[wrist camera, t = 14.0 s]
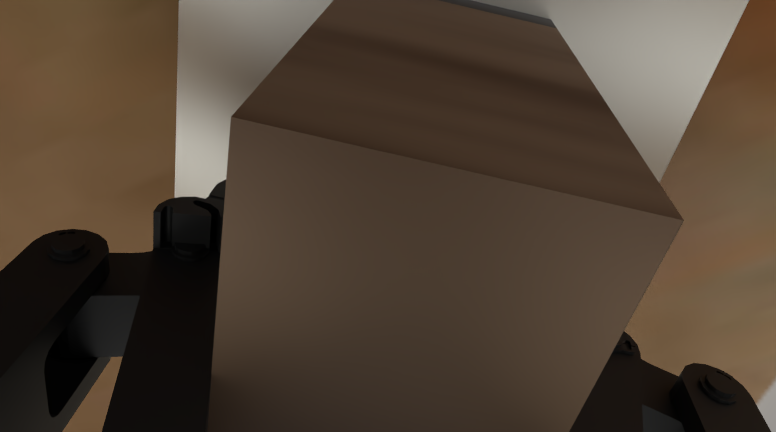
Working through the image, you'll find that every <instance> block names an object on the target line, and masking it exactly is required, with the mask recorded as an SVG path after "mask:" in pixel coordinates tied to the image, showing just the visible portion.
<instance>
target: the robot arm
mask: <svg viewBox="0 0 776 432" xmlns="http://www.w3.org/2000/svg"><path fill="white" fill-rule="evenodd" d="M225 188H226V180H224V181H222V182H220V183H218V184H217V185H216V186H215V187H214V189H213V190H212V191H211V193H210V194H209V197H207V198H206V199H205V198H200V197H177V198H173V199H168V200H166V201H164V202H163V203H161V204H159V205H158V206H157V208H156V209H155V210H154V234H153V251H150V252H144V253H109V248H108V245H107V241H106V240H105V239H104V238H102V237H101V236H100V235H99V234H96V233H93V232H90V231H87V230H77V229H67V230H59V231H55V232H51V233H48V234H45V235H43V236H41V237H39V238H38V239H36V240H35V241H33V242H32V243H31V244H30V245H29V246H28V247H26V248H25V249H24V250H23V251H22V252H21V253H20V254H19V255H18V256H17V257H16V258H15V259H13V260H12V261H11V262H10V263H9V264H8V265H7V266H6V267H5V268H4V269H3V270H1V271H0V432H62V431H63V430H64V428H65V427H66V425H67V424H68V422H69V421H70V419H71V418H72V416H73V415H74V413H75V412H76V410H77V409H78V407H79V406H80V404H81V403H82V401H83V400H84V398H85V397H86V395H87V394H88V392H89V391H90V389H91V388H92V386H93V385H94V383H95V382H96V380H97V379H98V377H99V376H100V374H101V373H102V371H103V370H104V368H105V367H106V365H107V364H108V362H109V361H110V358H111V357H118V356H123V358H122V362H121V365H120V369H119V373H118V376H117V380H116V383H115V387H114V390H113V394H112V397H111V401H110V405H109V408H108V412H107V415H106V419H105V422H104V426H103V430H102V432H207V430H208V416H209V402H210V389H211V375H212V374H211V371H212V358H213V345H214V332H215V319H216V306H217V293H218V280H219V266H220V253H221V240H222V227H223V214H224V201H225ZM569 432H771V431H770V429H769V427H768V425H767V424H766V422H765V420H764V418H763V416H762V415H761V413H760V411H759V409H758V407H757V406H756V404H755V402H754V400H753V398H752V397H751V395H750V394H749V393H748V391H747V390H746V389H745V388H744V386H743V385H741V384H740V383H739V382H738V381H737V380H735V379H734V378H733V377H732V376H730V375H729V374H727V373H725V372H724V371H722V370H720V369H717V368H714V367H712V366H709V365H706V364H697V363H693V364H690V365H687V366H685V368H684V369H683V371H682V372H681V374H680V375H679V377H678V376H676V375H674V374H672V373H669V372H667V371H665V370H663V369H660V368H658V367H656V366H653V365H651V364H649V363H647V362H646V361H644V360H642V359H641V357H640V351H639V348H638V345H637V344H636V343H635V342H634V340H633V339H632V338H631V337H630V336H629V335H628V334H627V333H625V332H623V333H622V335H621V337H620V339H619V341H618V343H617V345H616V346H615V348H614V350H613V352H612V354H611V356H610V357H609V359H608V361H607V363H606V365H605V367H604V368H603V370H602V372H601V374H600V376H599V378H598V379H597V381H596V383H595V385H594V387H593V389H592V390H591V392H590V394H589V396H588V398H587V400H586V402H585V403H584V405H583V407H582V409H581V411H580V413H579V414H578V416H577V418H576V420H575V422H574V424H573V425H572V427H571V429H570V431H569Z"/></svg>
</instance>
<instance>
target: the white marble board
mask: <svg viewBox="0 0 776 432" xmlns="http://www.w3.org/2000/svg"><path fill="white" fill-rule="evenodd" d="M332 1H333V0H179V21H178V67H177V113H176V159H175V198H177V197H200V198H205V199H206V198H207V197H209V194H210V193H211V191H212V190H213V189H214V187H215V186H216V185H217V184H218V183H220V182H222V181H224V180H226V175H227V162H228V149H229V136H230V122H231V116H232V115H233V114H234V113H235V112H236V110H237V109H238V108H239V107H240V106H241V105H242V104H243V103H244V101H245V100H246V99H247V98H248V97H249V96H250V95H251V93H252V92H253V91H254V90H255V89H256V88H257V87H258V85H259V84H260V83H261V82H262V81H263V80H264V79H265V78H266V76H267V75H268V74H269V73H270V72H271V71H272V70H273V68H274V67H275V66H276V65H277V64H278V63H279V62H280V60H281V59H282V58H283V57H284V56H285V55H286V54H287V53H288V51H289V50H290V49H291V48H292V47H293V46H294V45H295V43H296V42H297V41H298V40H299V39H300V38H301V37H302V35H303V34H304V33H305V32H306V31H307V30H308V29H309V27H310V26H311V25H312V24H313V23H314V22H315V21H316V20H317V18H318V17H319V16H320V15H321V14H322V13H323V12H324V10H325V9H326V8H327V7H328V6H329V5H330V4H331V2H332ZM472 1H476V2H480V3H484V4H489V5H493V6H497V7H501V8H505V9H510V10H514V11H518V12H522V13H527V14H531V15H535V16H539V17H543V18H548V19H551V20H552V22H553V23H554V25H555V26H556V28H557V29H558V31H559V32H560V34H561V35H562V37H563V38H564V40H565V41H566V43H567V44H568V46H569V47H570V49H571V50H572V52H573V53H574V55H575V56H576V58H577V59H578V61H579V62H580V64H581V65H582V67H583V69H584V70H585V72H586V73H587V75H588V76H589V78H590V79H591V81H592V82H593V84H594V85H595V87H596V88H597V90H598V91H599V93H600V94H601V96H602V97H603V99H604V100H605V102H606V103H607V105H608V106H609V108H610V109H611V111H612V112H613V114H614V115H615V117H616V118H617V120H618V121H619V123H620V125H621V126H622V128H623V129H624V131H625V132H626V134H627V135H628V137H629V138H630V140H631V141H632V143H633V144H634V146H635V147H636V149H637V150H638V152H639V153H640V155H641V156H642V158H643V159H644V161H645V162H646V164H647V165H648V167H649V168H650V170H651V171H652V173H653V174H654V176H655V178H656V179H657V181H658V182H660V180H661V178H662V176H663V174H664V172H665V170H666V168H667V166H668V164H669V162H670V160H671V158H672V156H673V154H674V152H675V150H676V148H677V146H678V144H679V142H680V140H681V138H682V136H683V134H684V132H685V130H686V128H687V125H688V123H689V121H690V119H691V117H692V115H693V113H694V111H695V109H696V107H697V105H698V103H699V101H700V99H701V97H702V95H703V93H704V91H705V89H706V87H707V85H708V83H709V81H710V79H711V77H712V75H713V73H714V71H715V69H716V67H717V65H718V62H719V60H720V58H721V56H722V54H723V52H724V50H725V48H726V46H727V44H728V42H729V40H730V38H731V36H732V34H733V32H734V30H735V28H736V26H737V24H738V22H739V20H740V18H741V16H742V14H743V12H744V10H745V8H746V6H747V4H748V1H749V0H472Z"/></svg>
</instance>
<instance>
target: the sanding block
mask: <svg viewBox="0 0 776 432" xmlns="http://www.w3.org/2000/svg"><path fill="white" fill-rule="evenodd" d="M683 221H684V220H683V218H682V217H681V215H680V214H679V212H678V211H677V209H676V208H675V206H674V205H673V203H672V202H671V200H670V199H669V197H668V196H667V194H666V193H665V191H664V190H663V188H662V187H661V185H660V184H659V182H658V181H657V179H656V178H655V176H654V174H653V173H652V171H651V170H650V168H649V167H648V165H647V164H646V162H645V161H644V159H643V158H642V156H641V155H640V153H639V152H638V150H637V149H636V147H635V146H634V144H633V143H632V141H631V140H630V138H629V137H628V135H627V134H626V132H625V131H624V129H623V128H622V126H621V125H620V123H619V121H618V120H617V118H616V117H615V115H614V114H613V112H612V111H611V109H610V108H609V106H608V105H607V103H606V102H605V100H604V99H603V97H602V96H601V94H600V93H599V91H598V90H597V88H596V87H595V85H594V84H593V82H592V81H591V79H590V78H589V76H588V75H587V73H586V72H585V70H584V69H583V67H582V65H581V64H580V62H579V61H578V59H577V58H576V56H575V55H574V53H573V52H572V50H571V49H570V47H569V46H568V44H567V43H566V41H565V40H564V38H563V37H562V35H561V34H560V32H559V31H558V29H557V28H556V26H555V25H554V23H553V22H552V20H551V19H548V18H543V17H539V16H535V15H531V14H527V13H522V12H518V11H514V10H510V9H505V8H501V7H497V6H493V5H489V4H484V3H480V2H476V1H472V0H333V1H332V2H331V4H330V5H329V6H328V7H327V8H326V9H325V10H324V12H323V13H322V14H321V15H320V16H319V17H318V18H317V20H316V21H315V22H314V23H313V24H312V25H311V26H310V27H309V29H308V30H307V31H306V32H305V33H304V34H303V35H302V37H301V38H300V39H299V40H298V41H297V42H296V43H295V45H294V46H293V47H292V48H291V49H290V50H289V51H288V53H287V54H286V55H285V56H284V57H283V58H282V59H281V60H280V62H279V63H278V64H277V65H276V66H275V67H274V68H273V70H272V71H271V72H270V73H269V74H268V75H267V76H266V78H265V79H264V80H263V81H262V82H261V83H260V84H259V85H258V87H257V88H256V89H255V90H254V91H253V92H252V93H251V95H250V96H249V97H248V98H247V99H246V100H245V101H244V103H243V104H242V105H241V106H240V107H239V108H238V109H237V110H236V112H235V113H234V114H233V115H232V116H231V122H230V136H229V149H228V162H227V175H226V188H225V201H224V214H223V227H222V240H221V253H220V266H219V280H218V293H217V306H216V319H215V332H214V345H213V358H212V371H211V374H212V375H211V389H210V402H209V416H208V430H207V432H569V431H570V429H571V427H572V425H573V424H574V422H575V420H576V418H577V416H578V414H579V413H580V411H581V409H582V407H583V405H584V403H585V402H586V400H587V398H588V396H589V394H590V392H591V390H592V389H593V387H594V385H595V383H596V381H597V379H598V378H599V376H600V374H601V372H602V370H603V368H604V367H605V365H606V363H607V361H608V359H609V357H610V356H611V354H612V352H613V350H614V348H615V346H616V345H617V343H618V341H619V339H620V337H621V335H622V333H623V332H624V330H625V328H626V326H627V324H628V322H629V321H630V319H631V317H632V315H633V313H634V311H635V310H636V308H637V306H638V304H639V302H640V300H641V299H642V297H643V295H644V293H645V291H646V289H647V288H648V286H649V284H650V282H651V280H652V278H653V277H654V275H655V273H656V271H657V269H658V267H659V265H660V264H661V262H662V260H663V258H664V256H665V254H666V253H667V251H668V249H669V247H670V245H671V243H672V242H673V240H674V238H675V236H676V234H677V232H678V231H679V229H680V227H681V225H682V223H683Z"/></svg>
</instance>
